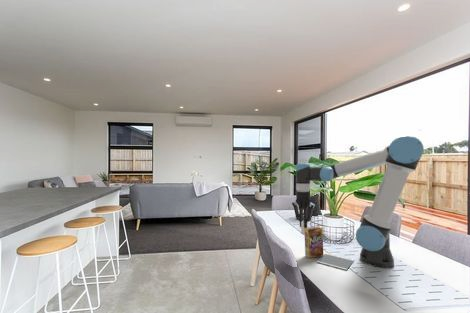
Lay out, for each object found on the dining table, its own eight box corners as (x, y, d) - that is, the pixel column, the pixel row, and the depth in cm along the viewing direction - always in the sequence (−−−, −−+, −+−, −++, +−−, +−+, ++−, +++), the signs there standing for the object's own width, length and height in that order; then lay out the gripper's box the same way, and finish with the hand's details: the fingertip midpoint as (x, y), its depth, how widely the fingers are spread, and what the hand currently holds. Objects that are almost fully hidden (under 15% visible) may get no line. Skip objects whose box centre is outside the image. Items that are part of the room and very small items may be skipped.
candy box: (309, 258, 127) (307, 229, 128) (305, 255, 131) (303, 227, 132) (324, 256, 129) (322, 227, 130) (319, 253, 133) (318, 225, 134)
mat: (354, 261, 124) (354, 260, 124) (346, 270, 113) (346, 269, 113) (325, 254, 133) (325, 253, 133) (316, 262, 122) (316, 261, 122)
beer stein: (325, 219, 213) (325, 190, 213) (305, 220, 208) (305, 191, 209) (315, 214, 229) (315, 188, 229) (296, 215, 225) (296, 189, 225)
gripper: (317, 191, 133) (317, 234, 133) (295, 189, 142) (295, 229, 141) (311, 192, 127) (312, 237, 127) (289, 190, 136) (289, 232, 135)
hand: (303, 233), depth 134 cm, fingers closed
